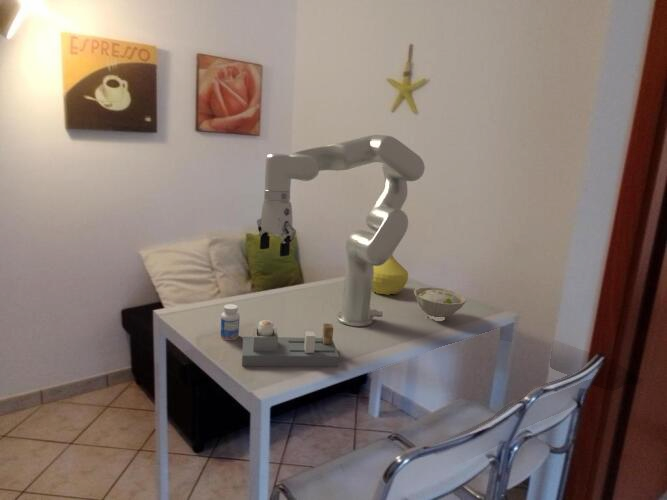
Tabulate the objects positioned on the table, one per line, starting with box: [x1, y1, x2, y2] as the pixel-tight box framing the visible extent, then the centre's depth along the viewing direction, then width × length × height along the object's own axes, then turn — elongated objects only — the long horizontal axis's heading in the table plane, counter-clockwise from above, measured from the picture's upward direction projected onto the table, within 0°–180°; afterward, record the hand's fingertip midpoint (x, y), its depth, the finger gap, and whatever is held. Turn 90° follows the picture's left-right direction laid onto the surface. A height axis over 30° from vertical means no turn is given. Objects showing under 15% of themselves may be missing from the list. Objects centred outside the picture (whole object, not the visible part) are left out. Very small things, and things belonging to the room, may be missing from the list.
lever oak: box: [321, 323, 334, 344], centre depth 137 cm, size 2×3×5 cm
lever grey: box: [304, 331, 316, 353], centre depth 130 cm, size 2×3×5 cm
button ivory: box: [258, 319, 274, 336], centre depth 130 cm, size 4×4×4 cm
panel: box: [241, 327, 340, 367], centre depth 132 cm, size 26×12×7 cm, turn 100°
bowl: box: [413, 286, 468, 318], centre depth 174 cm, size 19×19×10 cm
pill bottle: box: [220, 303, 241, 341], centre depth 141 cm, size 6×5×10 cm
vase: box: [371, 254, 409, 296], centre depth 198 cm, size 18×18×19 cm
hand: (274, 252), depth 144 cm, fingers open, 9 cm apart
